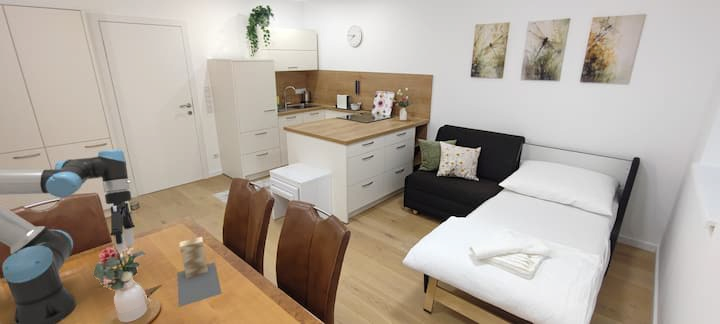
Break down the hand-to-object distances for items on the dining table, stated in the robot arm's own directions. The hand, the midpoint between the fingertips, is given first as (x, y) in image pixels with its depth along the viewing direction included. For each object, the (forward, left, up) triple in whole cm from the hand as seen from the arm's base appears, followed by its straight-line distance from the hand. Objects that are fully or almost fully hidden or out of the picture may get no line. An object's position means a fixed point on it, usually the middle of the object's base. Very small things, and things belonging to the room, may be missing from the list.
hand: (126, 249), depth 120 cm
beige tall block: (+21, +3, -16) cm, 26 cm away
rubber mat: (+23, -4, -16) cm, 29 cm away
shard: (+4, -6, -17) cm, 19 cm away
